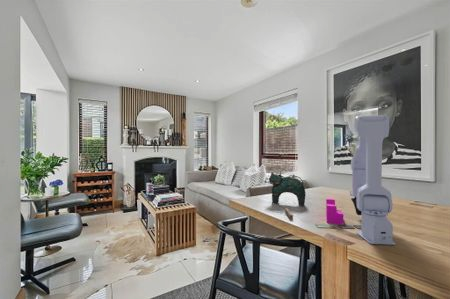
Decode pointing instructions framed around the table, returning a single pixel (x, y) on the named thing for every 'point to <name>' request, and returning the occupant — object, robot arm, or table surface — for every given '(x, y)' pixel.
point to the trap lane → (325, 224)
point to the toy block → (333, 212)
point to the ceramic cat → (287, 187)
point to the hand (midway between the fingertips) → (359, 214)
